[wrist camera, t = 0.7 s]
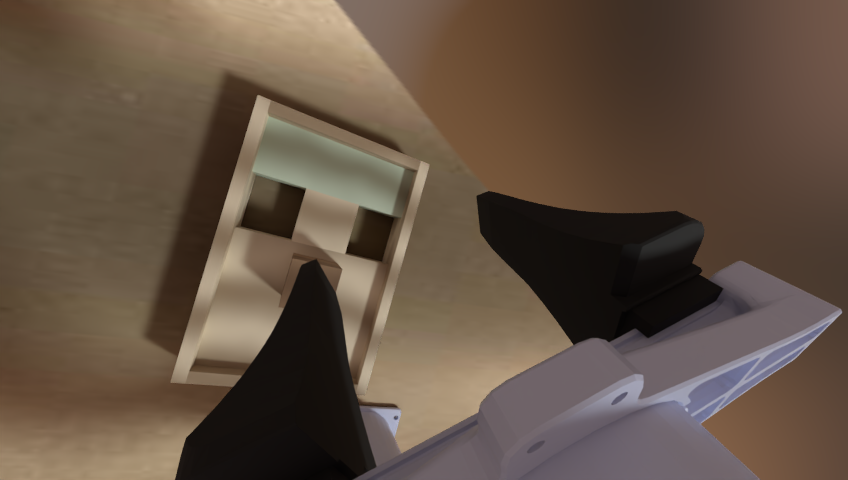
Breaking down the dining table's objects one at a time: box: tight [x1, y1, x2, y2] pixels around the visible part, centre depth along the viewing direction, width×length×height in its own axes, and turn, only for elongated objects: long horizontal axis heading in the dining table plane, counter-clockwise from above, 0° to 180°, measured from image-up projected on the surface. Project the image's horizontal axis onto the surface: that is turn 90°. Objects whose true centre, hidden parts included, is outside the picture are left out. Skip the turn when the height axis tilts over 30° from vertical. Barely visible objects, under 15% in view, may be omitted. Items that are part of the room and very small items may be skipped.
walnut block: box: [278, 253, 343, 308], centre depth 27 cm, size 4×4×4 cm
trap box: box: [170, 95, 429, 395], centre depth 29 cm, size 24×16×4 cm, turn 163°
